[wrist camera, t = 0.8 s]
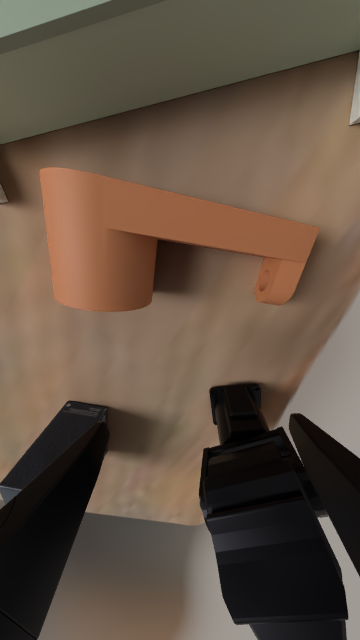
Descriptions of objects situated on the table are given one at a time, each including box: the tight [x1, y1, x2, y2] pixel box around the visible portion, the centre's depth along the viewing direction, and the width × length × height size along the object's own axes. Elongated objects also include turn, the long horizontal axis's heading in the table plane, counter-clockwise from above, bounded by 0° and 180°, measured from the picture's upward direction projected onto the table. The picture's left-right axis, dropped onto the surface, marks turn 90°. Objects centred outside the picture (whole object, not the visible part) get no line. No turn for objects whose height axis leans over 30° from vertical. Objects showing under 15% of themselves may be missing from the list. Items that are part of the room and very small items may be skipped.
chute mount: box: [0, 0, 360, 203], centre depth 11 cm, size 7×32×7 cm, turn 99°
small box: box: [0, 401, 107, 504], centre depth 23 cm, size 11×6×10 cm, turn 172°
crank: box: [40, 167, 320, 312], centre depth 15 cm, size 20×8×8 cm, turn 81°
